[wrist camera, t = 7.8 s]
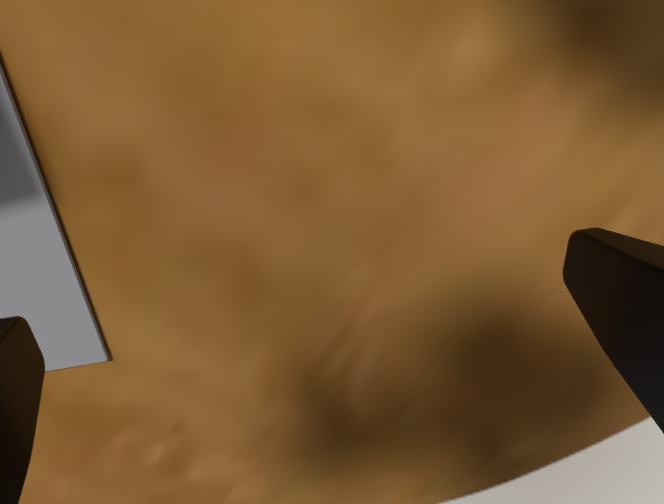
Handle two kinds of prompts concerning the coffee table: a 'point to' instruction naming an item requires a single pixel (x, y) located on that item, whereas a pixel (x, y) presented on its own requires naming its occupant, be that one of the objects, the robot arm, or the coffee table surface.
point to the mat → (39, 255)
